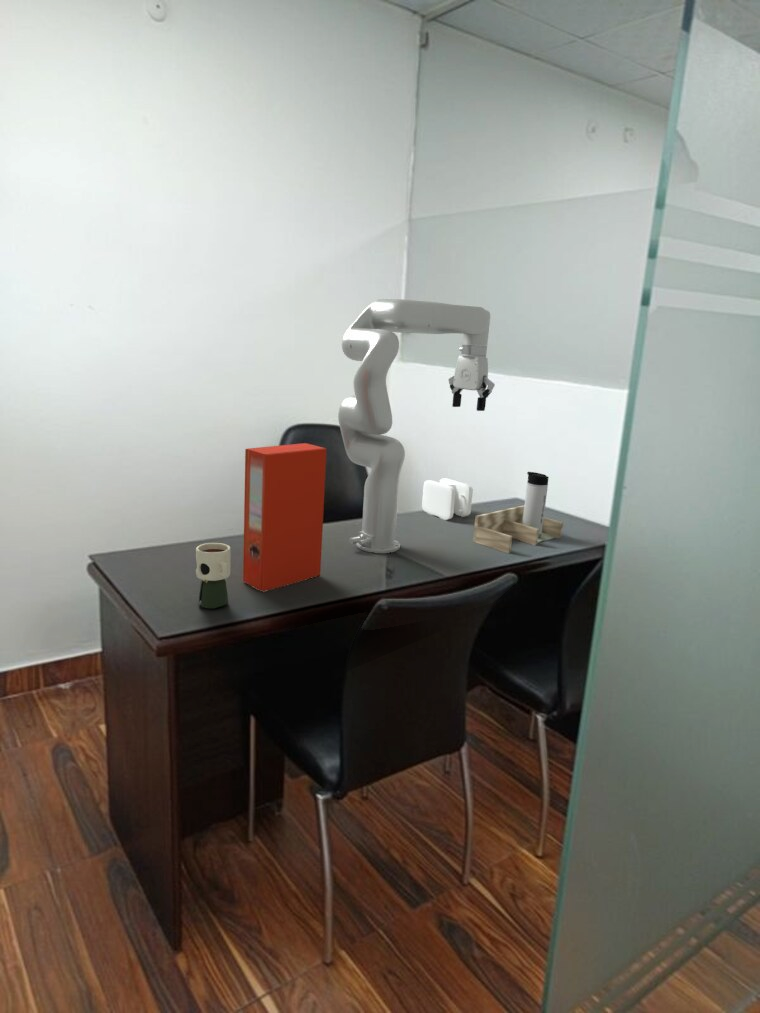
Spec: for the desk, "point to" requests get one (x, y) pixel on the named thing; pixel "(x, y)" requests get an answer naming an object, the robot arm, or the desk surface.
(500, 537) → the desk dock
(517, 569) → the desk surface
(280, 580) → the file binder
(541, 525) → the travel mug
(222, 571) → the character mug
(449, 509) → the cable organizer
